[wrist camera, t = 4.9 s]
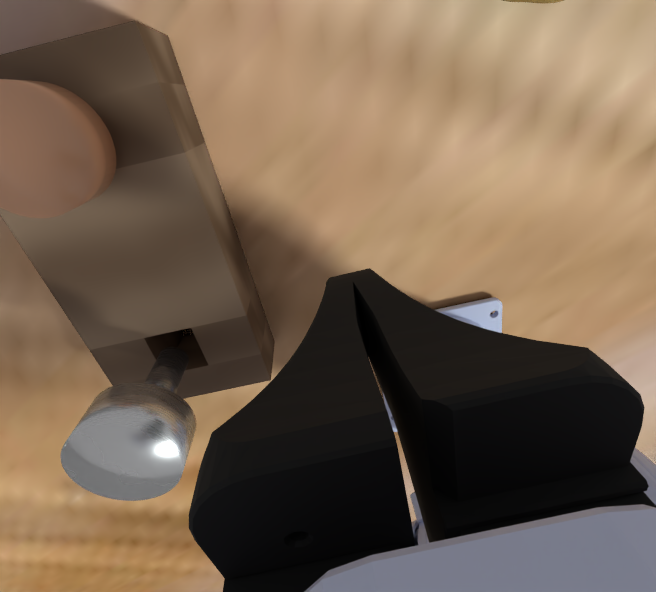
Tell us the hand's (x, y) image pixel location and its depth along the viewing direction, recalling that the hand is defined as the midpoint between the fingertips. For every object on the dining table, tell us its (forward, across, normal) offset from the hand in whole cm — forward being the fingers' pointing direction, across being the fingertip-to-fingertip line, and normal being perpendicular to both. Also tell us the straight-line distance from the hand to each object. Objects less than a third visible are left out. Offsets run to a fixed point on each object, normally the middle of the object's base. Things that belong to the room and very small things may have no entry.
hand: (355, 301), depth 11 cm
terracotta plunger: (+9, +9, -6) cm, 14 cm away
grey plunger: (+5, +9, +4) cm, 11 cm away
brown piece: (+10, +9, -1) cm, 13 cm away
